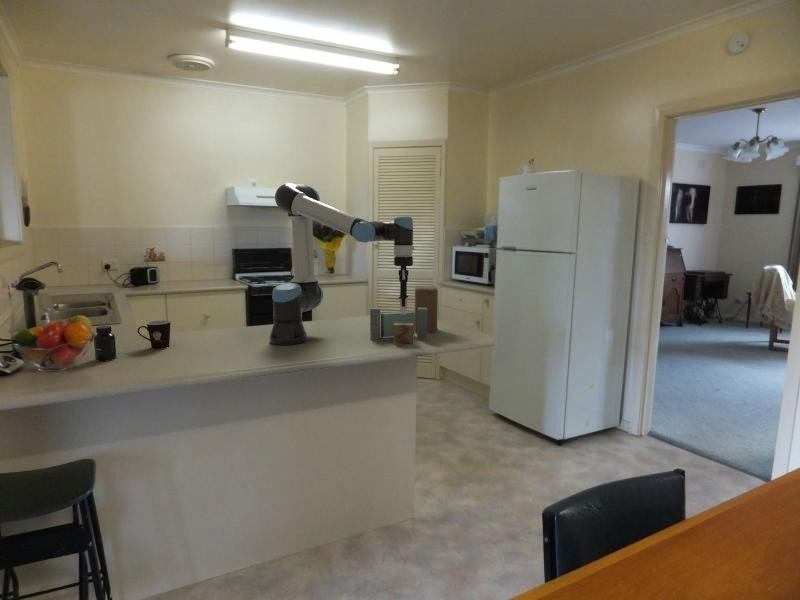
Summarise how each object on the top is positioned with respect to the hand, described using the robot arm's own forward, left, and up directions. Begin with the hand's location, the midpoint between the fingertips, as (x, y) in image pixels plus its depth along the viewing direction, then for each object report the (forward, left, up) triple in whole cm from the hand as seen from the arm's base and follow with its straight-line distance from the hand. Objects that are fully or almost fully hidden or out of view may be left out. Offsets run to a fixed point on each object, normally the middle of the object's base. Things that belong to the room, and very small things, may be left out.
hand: (403, 313), depth 208 cm
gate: (-3, +12, -12) cm, 17 cm away
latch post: (+8, +10, -13) cm, 18 cm away
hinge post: (-12, +10, -13) cm, 20 cm away
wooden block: (+10, +25, -13) cm, 30 cm away
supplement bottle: (-108, -25, -13) cm, 112 cm away
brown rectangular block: (0, +2, -13) cm, 13 cm away
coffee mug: (-98, -7, -13) cm, 99 cm away
